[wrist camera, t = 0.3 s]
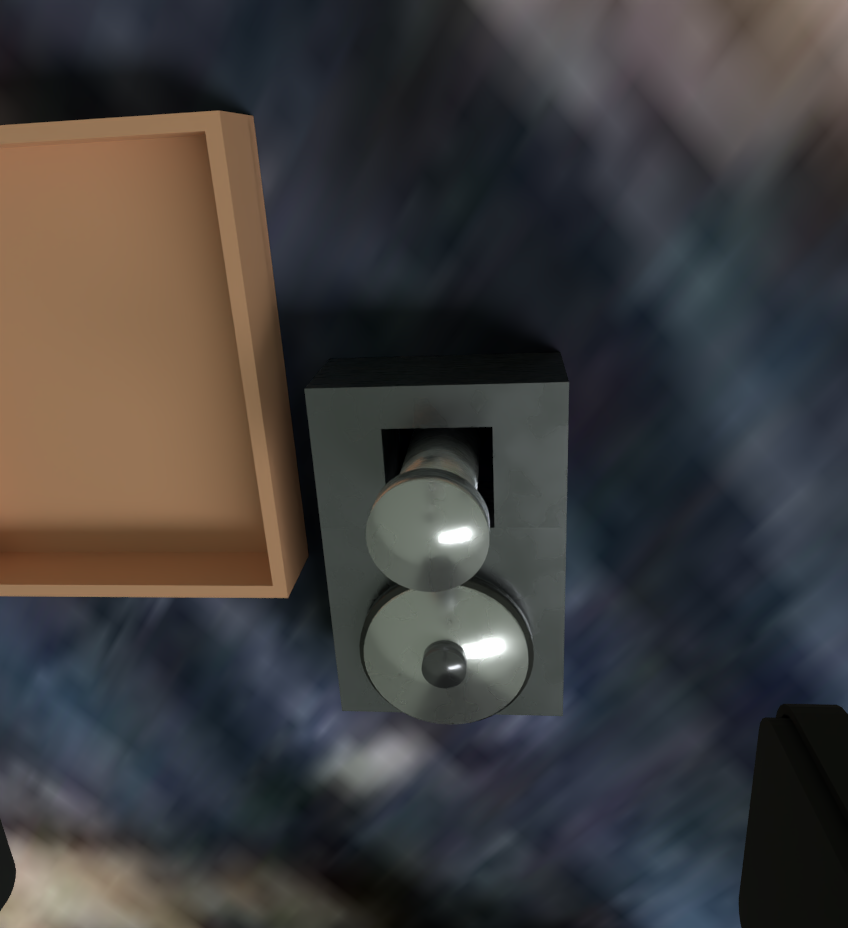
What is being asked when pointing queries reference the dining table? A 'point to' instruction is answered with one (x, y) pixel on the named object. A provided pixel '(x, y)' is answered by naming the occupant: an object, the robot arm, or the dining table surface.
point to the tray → (142, 364)
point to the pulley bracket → (510, 543)
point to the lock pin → (432, 513)
